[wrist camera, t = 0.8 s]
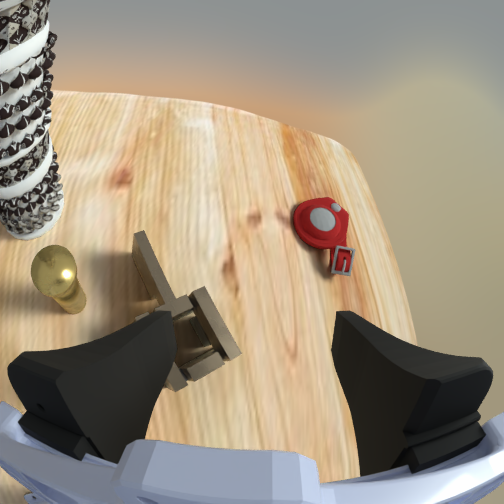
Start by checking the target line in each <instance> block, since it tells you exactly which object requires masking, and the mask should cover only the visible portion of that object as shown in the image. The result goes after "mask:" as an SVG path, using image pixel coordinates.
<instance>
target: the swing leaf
mask: <svg viewBox="0 0 504 504" xmlns="http://www.w3.org/2000/svg"><path fill="white" fill-rule="evenodd" d="M132 257H133V259H134V262H135V264H136V267H137V269H138V271H139V273H140V276H141V278H142V280H143V282H144V285H145V287H146V289H147V291H148V293H149V295H150V298H151V300H153V299H157V301H158V303H159V305H160V306H159V307H157V308H155V309H154V311H153V312H155V311H158V310H162V311H171V314H172V320H173V319H175V318H177V317H179V316H181V315H184V314H186V313H187V312H188V311H190V310H191V309H192V310H193V312H194V314H195V315H196V317H197V319H198V321H199V323H200V325H201V327H202V328H203V330H204V332H205V334H206V336H207V337H208V339H209V341H210V343H211V344H212V346H213V348H214V350H215V351H216V352H214V353H209V354H208V355H206V356H204V357H202V358H200V359H198V360H197V361H195V362H193V363H191V364H189V365H187V366H186V367H184V368H182V371H183V373H184V374H185V376H186V378H187V379H188V381H194V382H195V381H196V380H198V379H200V378H202V377H204V376H205V375H207V374H209V373H211V372H212V371H214V370H216V369H217V368H219V367H221V366H222V365H224V364H225V363H224V362H223V361H231V360H232V359H234V358H236V357H237V356H239V355H241V354H242V353H241V351H240V349H239V347H238V346H237V344H236V342H235V341H234V339H233V337H232V335H231V334H230V332H229V330H228V328H227V326H226V325H225V323H224V321H223V319H222V318H221V316H220V314H219V312H218V310H217V308H216V307H215V305H214V303H213V301H212V299H211V297H210V296H209V294H208V292H207V290H206V288H205V286H204V287H202V288H199V289H197V290H195V291H193V292H192V293H191V294H190V295H189V296H187V294H186V295H184V296H182V297H179V298H177V299H176V298H175V296H174V294H173V292H172V290H171V288H170V286H169V284H168V282H167V280H166V278H165V276H164V273H163V271H162V269H161V267H160V265H159V263H158V261H157V258H156V256H155V254H154V252H153V250H152V247H151V245H150V243H149V240H148V238H147V236H146V234H145V231H144V230H143V231H140V232H137V233H134V237H133V247H132ZM147 315H149V312H146V313H144V314H141V315H139V316H137V317H135V321H134V322H136V321H138V320H139V319H141V318H143V317H145V316H147ZM166 383H167V384H168V386H169V388H170V389H171V390H172V391H174V392H176V391H178V390H180V389H182V388H184V387H186V386H187V385H188V384H187V382H186V381H185V379H184V377H183V376H182V374H181V372H180V371H179V369H178V367H177V365H176V364H175V362H174V363H173V366H172V368H171V371H170V373H169V375H168V377H167V379H166Z"/></svg>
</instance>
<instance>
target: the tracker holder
mask: <svg viewBox="0 0 504 504" xmlns="http://www.w3.org/2000/svg"><path fill="white" fill-rule="evenodd" d="M348 220H349V214H348V213H347V211H345V210H344V209H343V208H342V207H341V206H340V205H339V204H337V203H336V202H335V201H334V200H333V199H331V198H329V197H325V198H316V199H311V200H308V201H305V202H303V203H301V204H300V205H299V206H298V207H297V209H296V210H295V212H294V216H293V221H294V226H295V229H296V232H297V234H298V235H299V237H300V238H301V239H302V240H303V241H304V242H305V243H307V244H309V245H310V246H312V247H315V248H319V249H330V250H331V268H332V270H331V273H334V274H340V275H346V276H350V275H351V270H352V264H353V259H354V254H355V249H353V248H348V247H347V245H346V233H347V228H348ZM350 250H351V251H352V254H350Z"/></svg>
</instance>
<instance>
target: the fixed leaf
mask: <svg viewBox="0 0 504 504" xmlns="http://www.w3.org/2000/svg"><path fill="white" fill-rule="evenodd" d="M191 313H193V310H192V309H191V310H190V311H188V312H187V313H186V314H184V315H181V316H179V317H177V318H175V319H173V320H172V321H173V322H174V321H176V320H178V319H180V318H183V317H185V316H187V315H189V314H191ZM190 322H191V324H192V326H193V328H194V330H195V332H196V334H197V335H198V337H199V339H200V341H201V342H202V344H203V346H204V347H206V346H209V345H212V344H211V343H210V341H209V339H208V337H207V336H206V334H205V332H204V330H203V328H202V327H201V325H200V323H199V321H198V319H197V317H196V316H195V317H194V318H192V319H191V320H190ZM214 352H216V351H215V350H214V349H212V350H210V351H208V352H207V353H205V354H203V355H201V356H199V357H197V358H196V359H194V360H192V361H190V362H188V363H186V364H184V365H182V366H181V367H179V368H178V369H179V371H180V372H181V374H182V376H183V377H184V379H185V381H187V380H188V379H187V378H186V376H185V374H184V373H183V371H182V368H184V367H186V366H187V365H189V364H191V363H193V362H195V361H197V360H198V359H200V358H202V357H204V356H206V355H208V354H209V353H214ZM165 386H166V387H167V388H168V389H170V388H169V386H168V384H167V383H166V381H165ZM170 390H171V389H170Z"/></svg>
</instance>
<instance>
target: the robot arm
mask: <svg viewBox="0 0 504 504" xmlns="http://www.w3.org/2000/svg"><path fill="white" fill-rule="evenodd" d="M176 352H177V344H176V338H175V333H174V327H173V321H172V314H171V311H162V310H158V311H155V312H153V313H151V314H149V315H147V316H145V317H143V318H141V319H139V320H138V321H136V322H134V323H132V324H130V325H128V326H126V327H124V328H122V329H120V330H118V331H116V332H114V333H112V334H110V335H107V336H105V337H103V338H100V339H97V340H94V341H92V342H88V343H85V344H81V345H77V346H73V347H69V348H63V349H57V350H49V351H25V352H23V353H21V354H20V355H19V356H18V357H17V358H16V359H15V360H14V361H12V362H11V363H10V364H9V366H8V377H9V380H10V382H11V384H12V387H13V388H14V390H15V392H16V394H17V395H18V397H19V399H20V400H21V402H22V404H23V405H24V407H25V409H26V410H27V411H26V412H25V414H24V415H22V414H21V413H20V412H19V411H18V410H17V409H15V408H14V407H12V406H10V405H9V404H7V403H6V402H4V401H2V402H1V403H0V466H1V467H2V468H3V469H4V470H5V471H6V472H7V473H8V474H9V475H10V476H11V477H13V478H14V479H15V480H17V481H18V482H19V483H21V484H22V485H23V486H25V487H26V488H27V489H29V490H30V491H32V492H33V493H29V494H25V495H24V498H25V500H26V501H27V502H28V504H474V503H475V502H477V501H478V500H480V499H481V498H483V497H484V496H486V495H487V494H489V493H490V492H492V491H493V490H494V489H496V488H497V487H498V486H499V485H500V484H502V482H504V412H502V413H501V414H499V415H497V416H496V417H494V418H492V419H490V420H488V421H487V422H486V423H485V424H484V425H482V426H480V424H479V423H478V421H479V420H480V418H481V415H480V414H479V412H478V411H477V410H478V408H479V406H480V404H481V403H482V401H483V399H484V398H485V396H486V394H487V392H488V391H489V388H490V386H491V383H492V379H493V371H492V369H491V368H490V367H489V366H488V365H487V363H486V362H485V361H484V360H483V359H482V358H479V357H462V356H454V355H448V354H443V353H439V352H434V351H431V350H427V349H424V348H421V347H418V346H415V345H413V344H410V343H408V342H405V341H403V340H401V339H398V338H396V337H394V336H393V335H391V334H389V333H387V332H385V331H383V330H382V329H380V328H378V327H376V326H375V325H373V324H372V323H370V322H368V321H367V320H365V319H364V318H362V317H360V316H359V315H357V314H355V313H354V312H352V311H336V319H335V327H334V334H333V341H332V348H331V352H332V357H333V361H334V366H335V369H336V372H337V375H338V378H339V380H340V383H341V386H342V389H343V391H344V394H345V397H346V399H347V402H348V405H349V408H350V412H351V416H352V420H353V425H354V430H355V436H356V442H357V449H358V457H359V465H360V477H358V478H352V479H347V480H341V481H334V482H327V483H320V481H319V474H318V469H317V465H316V462H315V460H312V459H310V458H308V457H305V456H303V455H301V454H299V453H296V452H288V451H277V450H240V449H223V448H211V447H201V446H193V445H186V444H179V443H173V442H167V441H161V440H145V436H146V432H147V428H148V424H149V421H150V417H151V414H152V411H153V408H154V405H155V403H156V401H157V398H158V396H159V394H160V392H161V390H162V388H163V386H164V384H165V381H166V379H167V377H168V375H169V373H170V371H171V368H172V366H173V363H174V359H175V356H176ZM33 496H34V497H36V499H35V498H34V497H33Z"/></svg>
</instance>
